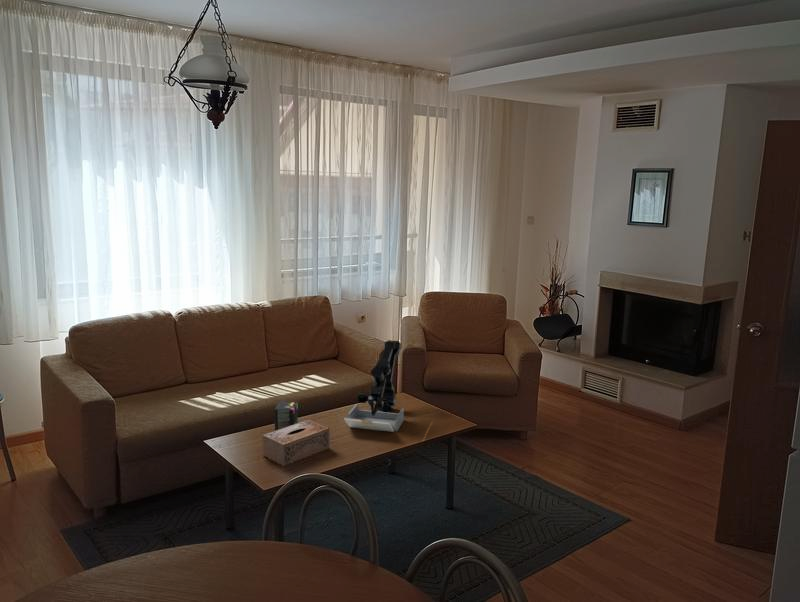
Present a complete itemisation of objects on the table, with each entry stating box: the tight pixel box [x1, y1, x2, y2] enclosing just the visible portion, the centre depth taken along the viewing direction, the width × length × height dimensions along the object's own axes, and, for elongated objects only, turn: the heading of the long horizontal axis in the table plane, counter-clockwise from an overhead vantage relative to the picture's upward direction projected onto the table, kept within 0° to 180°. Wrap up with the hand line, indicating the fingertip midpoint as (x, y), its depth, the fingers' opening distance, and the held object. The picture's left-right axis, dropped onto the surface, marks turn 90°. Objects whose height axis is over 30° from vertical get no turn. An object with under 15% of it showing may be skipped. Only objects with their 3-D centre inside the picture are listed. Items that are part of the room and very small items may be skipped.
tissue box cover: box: [262, 419, 330, 466], centre depth 279 cm, size 26×14×10 cm, turn 138°
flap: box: [343, 417, 394, 433], centre depth 301 cm, size 1×22×13 cm
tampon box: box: [273, 401, 299, 431], centre depth 298 cm, size 11×9×15 cm
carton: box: [347, 403, 405, 432], centre depth 313 cm, size 15×25×7 cm, turn 78°
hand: (372, 415), depth 306 cm, fingers closed
